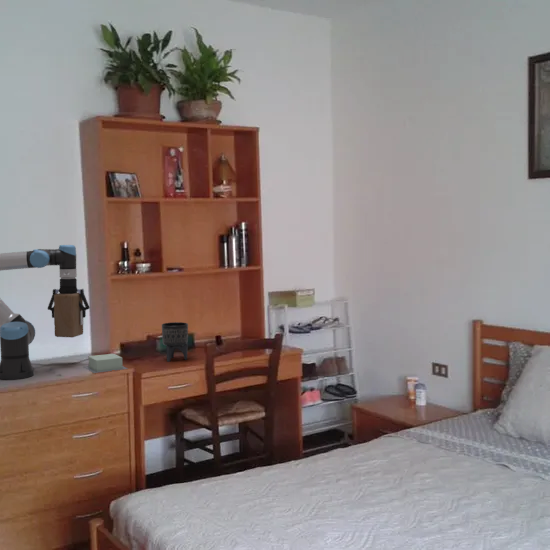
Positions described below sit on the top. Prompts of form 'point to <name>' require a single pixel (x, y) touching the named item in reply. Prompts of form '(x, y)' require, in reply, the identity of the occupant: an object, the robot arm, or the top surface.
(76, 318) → the wooden block
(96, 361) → the base brick
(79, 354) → the top surface
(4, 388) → the top surface
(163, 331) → the planter
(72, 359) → the top surface
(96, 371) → the plate
